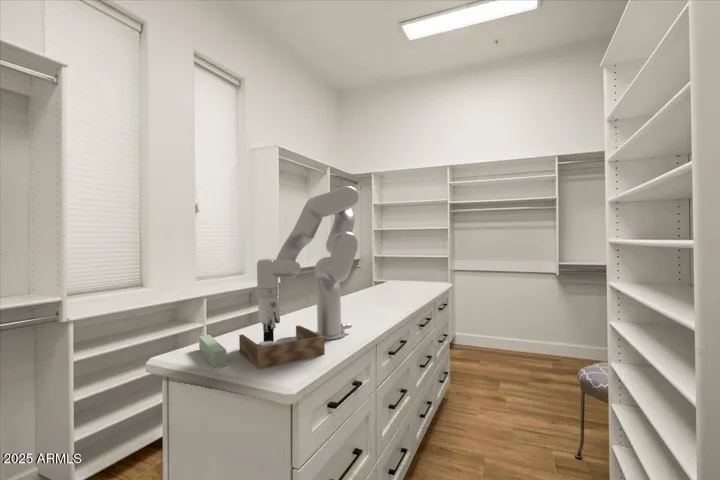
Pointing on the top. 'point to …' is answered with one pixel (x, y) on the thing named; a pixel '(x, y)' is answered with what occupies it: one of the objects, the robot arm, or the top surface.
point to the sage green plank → (212, 350)
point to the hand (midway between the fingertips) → (268, 342)
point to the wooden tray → (283, 349)
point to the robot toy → (282, 340)
